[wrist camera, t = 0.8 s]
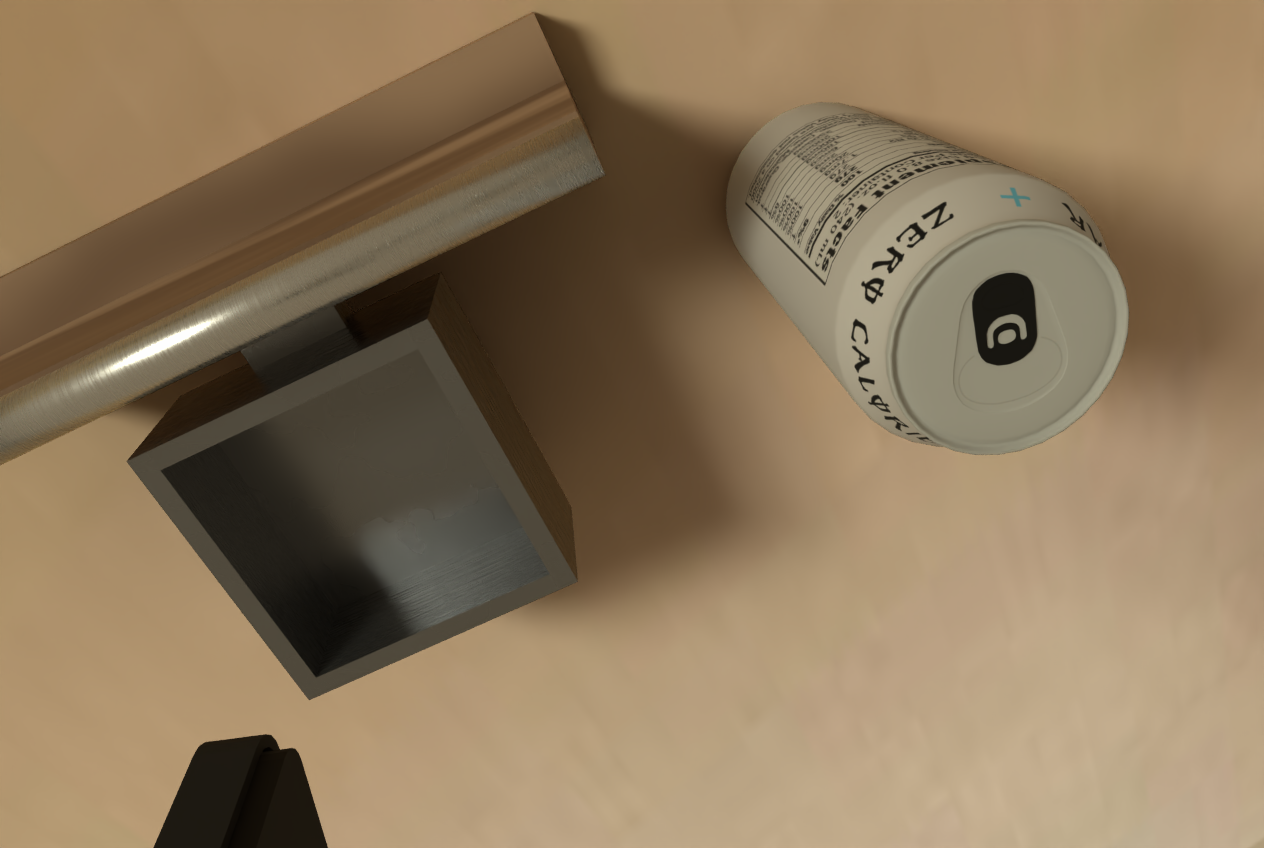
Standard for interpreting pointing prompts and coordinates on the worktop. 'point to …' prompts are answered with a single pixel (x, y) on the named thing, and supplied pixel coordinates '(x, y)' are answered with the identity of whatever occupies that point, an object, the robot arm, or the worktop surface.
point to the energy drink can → (930, 277)
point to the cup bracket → (326, 363)
